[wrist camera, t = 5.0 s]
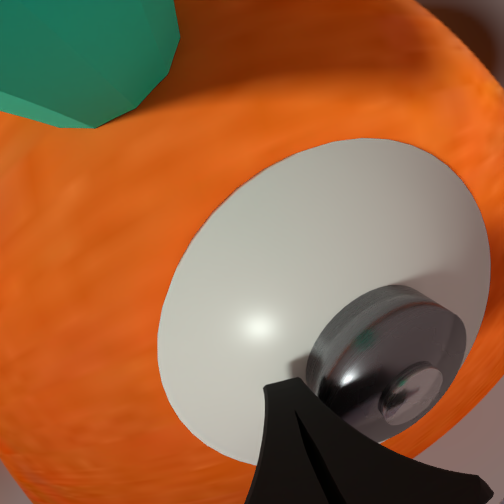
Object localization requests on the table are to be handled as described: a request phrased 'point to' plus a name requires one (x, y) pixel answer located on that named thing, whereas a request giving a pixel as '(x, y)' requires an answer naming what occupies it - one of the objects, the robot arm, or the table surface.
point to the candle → (83, 57)
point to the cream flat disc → (309, 274)
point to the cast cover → (386, 359)
